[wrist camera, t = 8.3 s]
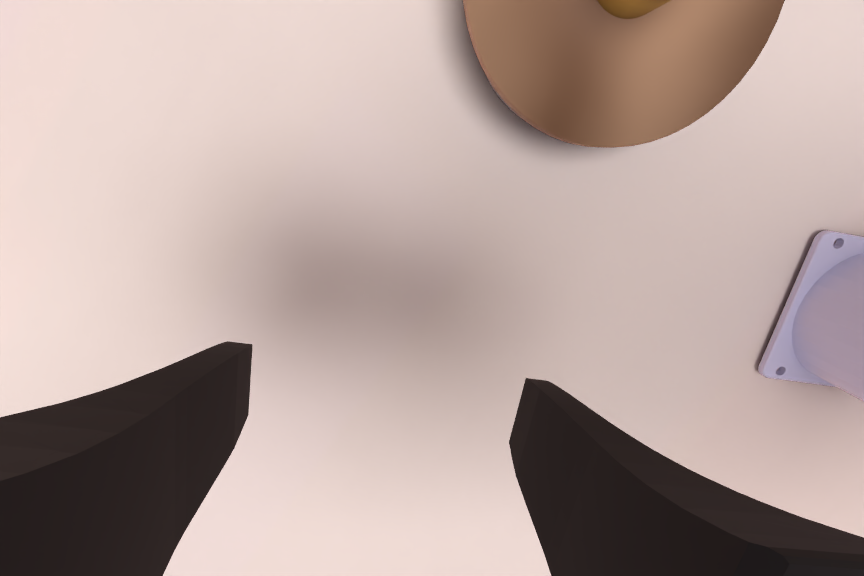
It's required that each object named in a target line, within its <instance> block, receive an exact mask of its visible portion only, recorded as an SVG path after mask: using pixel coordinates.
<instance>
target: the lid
mask: <svg viewBox="0 0 864 576" xmlns="http://www.w3.org/2000/svg"><path fill="white" fill-rule="evenodd" d="M784 1H785V0H463V4H464V10H465V16H466V22H467V27H468V31H469V34H470V38H471V41H472V45H473V48H474V50H475V53H476V55H477V57H478V60H479V62H480V65H481V67H482V69H483V71H484V72H485V74H486V76H487V78H488V79H489V81H490V83H491V85H492V86H493V88H494V89H495V90H496V91H497V93H498V94H499V95H500V97H501V98H502V99H503V101H504V102H505V103H506V104H507V105H508V106H509V107H510V108H511V109H512V110H513V111H514V112H515V113H516V114H517V115H518V116H519V117H521V118H522V119H523V120H525V121H526V122H527V123H529V124H530V125H531V126H533V127H534V128H536V129H538V130H539V131H541V132H543V133H545V134H547V135H549V136H551V137H553V138H556V139H559V140H562V141H564V142H567V143H571V144H576V145H581V146H587V147H624V146H634V145H638V144H643V143H647V142H652V141H655V140H657V139H660V138H663V137H666V136H668V135H671V134H673V133H675V132H677V131H679V130H681V129H683V128H685V127H687V126H689V125H690V124H692V123H693V122H695V121H696V120H698V119H699V118H701V117H702V116H704V115H705V114H707V113H708V112H709V111H710V110H711V109H712V108H714V107H715V106H716V105H717V104H718V103H720V102H721V101H722V100H723V99H724V98H725V97H726V96H727V95H728V94H729V93H730V92H731V91H732V90H733V89H734V88H735V86H736V85H737V84H738V83H739V82H740V81H741V80H742V78H743V77H744V76H745V74H746V73H747V72H748V70H749V69H750V68H751V67H752V65H753V64H754V62H755V61H756V59H757V57H758V56H759V54H760V53H761V51H762V49H763V48H764V46H765V44H766V43H767V41H768V39H769V36H770V34H771V32H772V30H773V28H774V26H775V24H776V22H777V20H778V17H779V14H780V11H781V9H782V6H783V3H784Z"/></svg>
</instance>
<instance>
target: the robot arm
mask: <svg viewBox="0 0 864 576" xmlns="http://www.w3.org/2000/svg"><path fill="white" fill-rule="evenodd" d="M835 240H836V243H835V244H834V242H835ZM833 244H834V245H833ZM251 358H252V344H244V343H235V342H224V343H221V344H218V345H216V346H213V347H211V348H208V349H206V350H204V351H201V352H199V353H197V354H194V355H192V356H190V357H187V358H185V359H183V360H180V361H178V362H176V363H174V364H171V365H169V366H167V367H164V368H162V369H159V370H157V371H154V372H152V373H149V374H146V375H144V376H141V377H139V378H136V379H133V380H131V381H128V382H126V383H123V384H120V385H117V386H115V387H112V388H109V389H106V390H103V391H100V392H97V393H93V394H90V395H87V396H83V397H80V398H77V399H73V400H70V401H66V402H63V403H59V404H55V405H51V406H47V407H42V408H38V409H34V410H30V411H26V412H21V413H17V414H13V415H9V416H4V417H0V576H163V574H164V571H165V569H166V567H167V565H168V563H169V561H170V559H171V557H172V555H173V552H174V550H175V548H176V547H177V545H178V543H179V541H180V539H181V537H182V536H183V534H184V532H185V530H186V528H187V527H188V525H189V523H190V522H191V520H192V518H193V517H194V515H195V513H196V512H197V510H198V508H199V507H200V505H201V503H202V502H203V500H204V498H205V497H206V495H207V493H208V492H209V490H210V488H211V487H212V485H213V483H214V482H215V480H216V478H217V477H218V475H219V473H220V472H221V470H222V468H223V467H224V465H225V463H226V461H227V460H228V458H229V456H230V455H231V453H232V451H233V449H234V447H235V445H236V443H237V440H238V438H239V436H240V434H241V431H242V429H243V426H244V424H245V421H246V419H247V416H248V409H249V392H250V375H251ZM778 368H779V369H778ZM777 369H778V370H777ZM758 370H759V373H760V374H762V375H763V376H765V377H767V378H773V379H781V380H788V381H796V382H804V383H811V384H819V385H826V386H834V387H838V388H840V389H842V390H844V391H845V392H847V393H849V394H851V395H853V396H855V397H857V398H858V399H860V400H862V401H864V237H862V236H856V235H851V234H845V233H840V232H834V231H828V230H824V231H821V232H819V233H818V234H817V235H816V236H815V238H814V240H813V242H812V245H811V247H810V249H809V252H808V254H807V256H806V258H805V261H804V263H803V265H802V268H801V270H800V272H799V275H798V277H797V279H796V281H795V284H794V286H793V288H792V291H791V293H790V295H789V298H788V300H787V302H786V304H785V307H784V309H783V311H782V314H781V316H780V318H779V321H778V323H777V325H776V327H775V330H774V332H773V334H772V337H771V339H770V341H769V344H768V346H767V348H766V350H765V353H764V355H763V357H762V360H761V362H760V364H759V368H758ZM776 370H777V371H776ZM509 444H510V449H511V455H512V460H513V464H514V469H515V473H516V477H517V480H518V483H519V486H520V489H521V491H522V494H523V497H524V500H525V503H526V505H527V508H528V511H529V513H530V516H531V519H532V522H533V524H534V527H535V530H536V532H537V535H538V538H539V541H540V543H541V546H542V549H543V552H544V554H545V557H546V560H547V563H548V567H549V570H550V573H551V576H864V538H863V537H860V536H857V535H854V534H850V533H847V532H844V531H841V530H838V529H835V528H832V527H829V526H826V525H823V524H820V523H817V522H814V521H811V520H808V519H805V518H802V517H799V516H796V515H794V514H791V513H789V512H786V511H783V510H781V509H778V508H776V507H773V506H770V505H768V504H765V503H763V502H760V501H758V500H755V499H753V498H750V497H748V496H746V495H743V494H741V493H738V492H736V491H734V490H732V489H729V488H727V487H725V486H723V485H721V484H719V483H716V482H714V481H712V480H710V479H708V478H706V477H703V476H701V475H699V474H697V473H695V472H693V471H691V470H689V469H687V468H685V467H683V466H681V465H680V464H678V463H676V462H674V461H672V460H670V459H669V458H667V457H665V456H663V455H661V454H659V453H658V452H656V451H654V450H652V449H651V448H649V447H647V446H646V445H644V444H642V443H641V442H639V441H638V440H636V439H634V438H633V437H631V436H630V435H628V434H627V433H625V432H623V431H622V430H620V429H619V428H617V427H616V426H614V425H613V424H611V423H610V422H608V421H607V420H605V419H604V418H602V417H601V416H600V415H598V414H597V413H595V412H594V411H592V410H591V409H590V408H588V407H587V406H585V405H584V404H583V403H581V402H580V401H578V400H577V399H575V398H574V397H573V396H571V395H570V394H568V393H567V392H565V391H564V390H562V389H561V388H559V387H558V386H556V385H554V384H552V383H551V382H549V381H544V380H536V379H528V378H526V380H525V384H524V388H523V391H522V395H521V399H520V403H519V406H518V410H517V414H516V418H515V422H514V425H513V429H512V433H511V437H510V440H509Z"/></svg>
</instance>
